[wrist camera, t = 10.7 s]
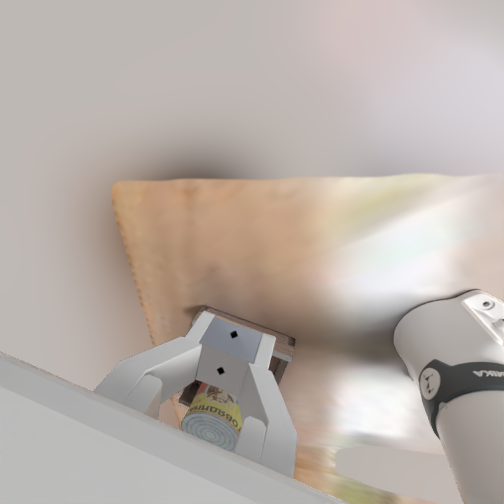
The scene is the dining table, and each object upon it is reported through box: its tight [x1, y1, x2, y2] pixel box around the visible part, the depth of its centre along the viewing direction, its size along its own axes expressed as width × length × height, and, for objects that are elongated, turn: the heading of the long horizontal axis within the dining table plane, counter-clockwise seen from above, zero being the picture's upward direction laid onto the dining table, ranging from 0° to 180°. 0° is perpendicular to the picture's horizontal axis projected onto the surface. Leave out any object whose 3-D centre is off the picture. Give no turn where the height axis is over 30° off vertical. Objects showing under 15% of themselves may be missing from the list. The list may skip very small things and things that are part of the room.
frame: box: [179, 305, 296, 407], centre depth 54 cm, size 18×24×4 cm
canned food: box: [181, 382, 243, 452], centre depth 53 cm, size 11×11×12 cm
